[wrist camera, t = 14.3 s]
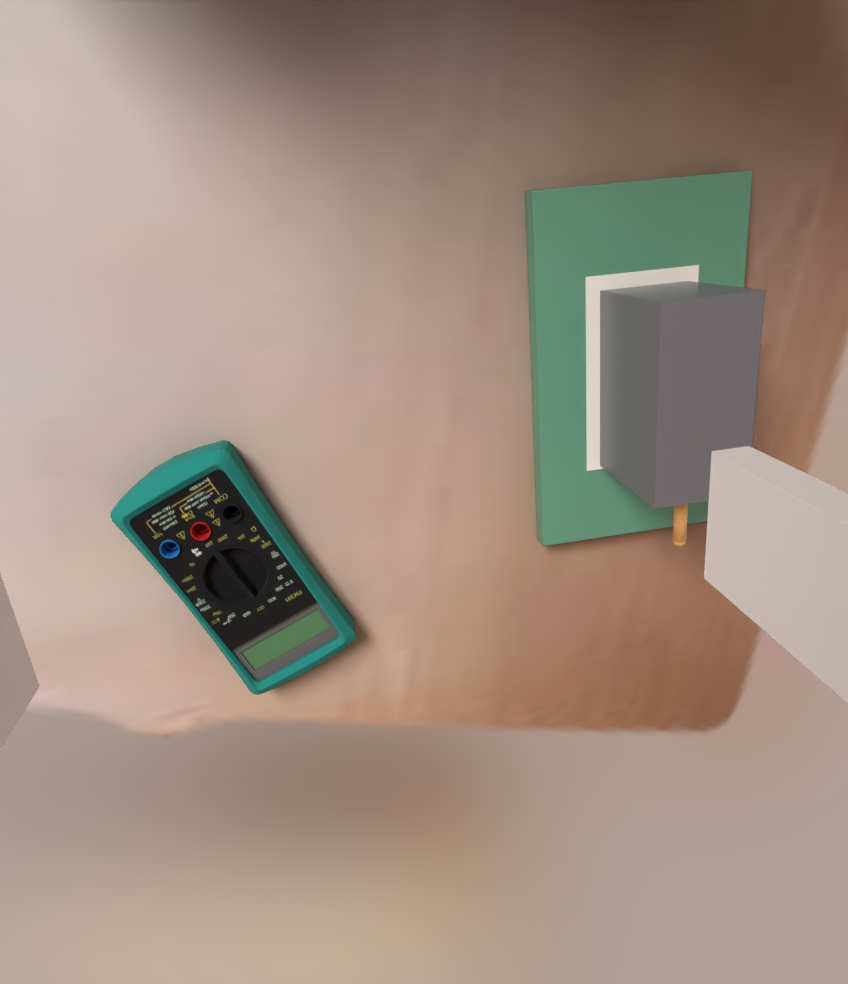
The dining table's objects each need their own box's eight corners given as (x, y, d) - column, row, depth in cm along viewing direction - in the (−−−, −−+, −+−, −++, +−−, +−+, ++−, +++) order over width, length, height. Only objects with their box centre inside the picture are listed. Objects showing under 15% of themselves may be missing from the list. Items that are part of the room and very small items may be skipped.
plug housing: (600, 290, 37) (660, 301, 31) (687, 280, 38) (765, 289, 31) (599, 517, 42) (652, 568, 36) (677, 506, 43) (743, 554, 36)
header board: (525, 191, 36) (558, 184, 32) (739, 172, 38) (802, 162, 33) (537, 538, 43) (565, 575, 39) (716, 511, 45) (765, 544, 40)
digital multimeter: (223, 426, 39) (216, 441, 36) (358, 621, 44) (361, 647, 41) (111, 491, 39) (96, 510, 36) (259, 677, 44) (255, 706, 42)
